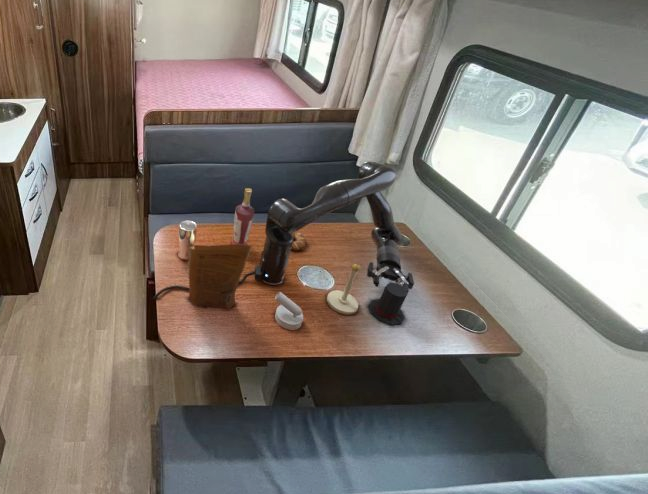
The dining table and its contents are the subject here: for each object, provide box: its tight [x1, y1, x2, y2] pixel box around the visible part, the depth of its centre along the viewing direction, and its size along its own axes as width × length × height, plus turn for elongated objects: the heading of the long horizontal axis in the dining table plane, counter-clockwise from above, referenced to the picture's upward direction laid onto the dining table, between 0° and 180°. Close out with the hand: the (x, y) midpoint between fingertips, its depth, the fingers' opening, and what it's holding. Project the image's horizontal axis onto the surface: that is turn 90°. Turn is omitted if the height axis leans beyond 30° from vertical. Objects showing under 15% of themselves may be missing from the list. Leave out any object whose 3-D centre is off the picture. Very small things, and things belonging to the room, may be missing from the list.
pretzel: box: [291, 231, 308, 252], centre depth 164 cm, size 12×11×4 cm
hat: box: [367, 282, 408, 326], centre depth 132 cm, size 11×11×11 cm
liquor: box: [230, 187, 256, 245], centre depth 156 cm, size 7×7×28 cm
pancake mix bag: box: [187, 244, 252, 309], centre depth 130 cm, size 7×19×28 cm, turn 83°
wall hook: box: [274, 291, 304, 331], centre depth 129 cm, size 9×10×10 cm
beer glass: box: [177, 220, 198, 261], centre depth 154 cm, size 7×7×15 cm
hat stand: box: [326, 263, 361, 316], centre depth 133 cm, size 10×10×18 cm
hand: (391, 289), depth 135 cm, fingers open, 8 cm apart
